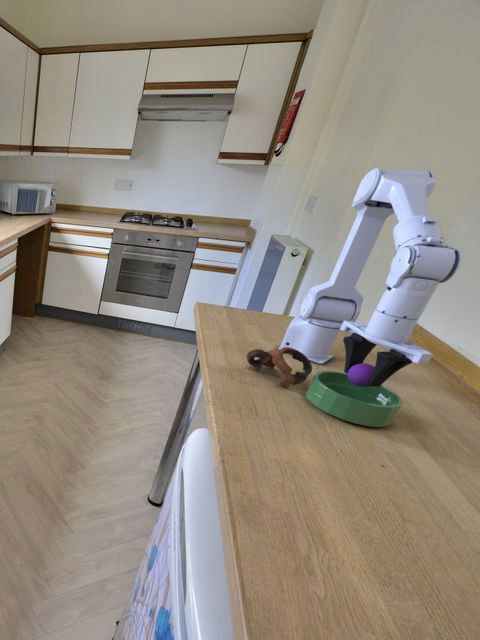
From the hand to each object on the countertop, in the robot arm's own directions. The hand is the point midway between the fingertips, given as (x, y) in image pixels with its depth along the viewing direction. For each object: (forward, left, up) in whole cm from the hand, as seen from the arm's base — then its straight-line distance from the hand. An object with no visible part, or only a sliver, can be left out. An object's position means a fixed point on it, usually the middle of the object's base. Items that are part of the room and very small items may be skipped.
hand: (361, 379), depth 79 cm
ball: (0, 0, +1) cm, 1 cm away
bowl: (0, 0, -7) cm, 7 cm away
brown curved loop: (-14, +1, -7) cm, 16 cm away
